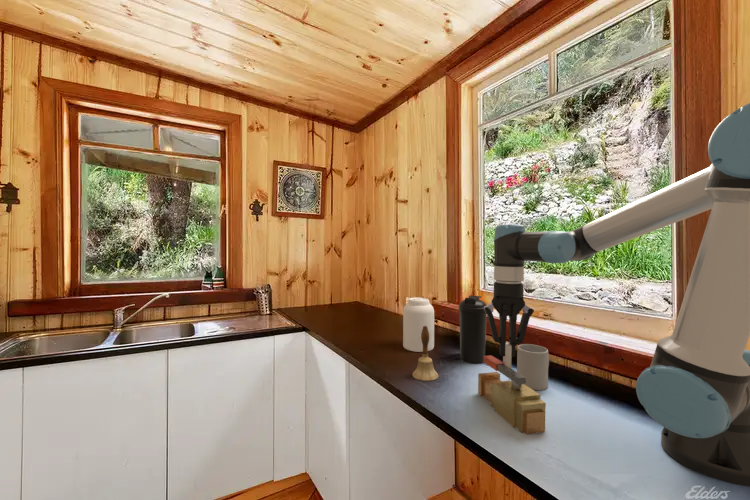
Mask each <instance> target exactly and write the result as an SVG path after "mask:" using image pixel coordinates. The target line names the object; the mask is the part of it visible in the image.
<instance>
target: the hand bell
mask: <svg viewBox="0 0 750 500" xmlns="http://www.w3.org/2000/svg"><path fill="white" fill-rule="evenodd" d="M421 340H422V344H423V352H422V356H421V357H419V358H418V359H417V366H416V369H415V370H414V371H413V372H412V375H411V376H412V377H413V379H416V380H418V381H422V382H431V381H435V380H438V378H439V373H438V372H437V371H436V370H435V368H434V363H433V359H432V358H431V357H429V351H428V343H429V331H428V328H427V326H423V329H422V333H421Z"/></svg>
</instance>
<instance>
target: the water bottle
mask: <svg viewBox="0 0 750 500" xmlns="http://www.w3.org/2000/svg"><path fill="white" fill-rule="evenodd" d="M480 298H482V296H480V295H468V297H465V298H464V299H463V300H461V302H460V303H459V304H458V312H459V343H460V344H459V345H460V346H459V349H460V350H459V351H460V352H459V354H460V360H461V362H463V363H466V364H474V365H478V364H480V365H481V364H485V363H484V356H486V341H487V340H486V339H487V320H488V317H487V313H486V312H485V310H484V309H483V307H484V306H487V303H486V302H485V301H484V300H483V299H482V300H481V299H480Z"/></svg>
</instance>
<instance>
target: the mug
mask: <svg viewBox="0 0 750 500" xmlns="http://www.w3.org/2000/svg"><path fill="white" fill-rule="evenodd" d="M516 351H517V352H516V353H517V354H516V355H517V356H516V362H517V363H516V372H517V373H519V374H521V375H522V376H524V377H526V384H525V385H526V386H528V387H529V388H531V389H532V390H534V391H545V390H547V389H548V387H549V366H550V356H549V355H550V354H549V350H548V348H546V347H544V346H541V345H537V344H531V343H520V344H519V345H517V350H516Z"/></svg>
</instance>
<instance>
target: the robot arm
mask: <svg viewBox="0 0 750 500" xmlns="http://www.w3.org/2000/svg"><path fill="white" fill-rule="evenodd" d="M707 152H708V153H707V154H708V158H709V161H710V163H711V164H710V165H709V166H708V167H706V168H704V169H702V170H700V171H697V172H696V173H694V174H691V175H689V176H687V177H685V178H683V179H681V180H678V181H676V182H673V183H672V184H670V185H668V186H665V187H663V188H660V189H659V190H657V191H655V192H653V193H651V194H647V195H645V196H643V197H641V198H640V199H637V200H635V201H633V202H631V203H629V204H626V205H624V206H622V207H620V208H617V209H616V210H613V211H612V212H609V213H608V214H606V215H603V216H601V217H599V218H596V219H594V220H592V221H590V222H587V223H585V224H584V225H582V226H579V227H577V228H575V229H573V230H571V231H560V230H548V231H547V230H546V231H526V229H525V225H523V224H517V223H516V224H515V223H514V224H499V225H497V226H496V227H495V229H494V239H493V248H494V249H493V251H494V253H493V254H494V263H493V264H494V265H493V267H494V269H493V280H495V281H494V282H493V297H492V300H491V303H489V304H488V305H487V304H486V305H487V306H484V307H483V309H484V310H485V312H486V313H487V320H488V325H489V330H490V332H491V337H492V340H493V341H494V343H498V344H499V351H498V352H499V355H500V356H501V357H502V362H503V363H505V365H506V366H508V367H509V368H511V369H512V357H515V356H516V346H518V345H517V344H524V339H525V336H526V333H527V328H528V325H529V321H530V318H531V317H532V315H533V314H534V312H535V310H534V309H533V308H532V307H531V306H528V305H526V302H525V300H524V291H525V290H524V285H525V284H524V283H523V282H524V281H525V279H524V278H525V262H538V263H549V264H565V263H569V262H579V261H580V262H581V261H584V260H588V259H590V258H592V257H593V256H595V254H597V253H599V252H601V251H604V250H606V249H610V248H612V247H615V246H617V245H620V244H623V243H625V242H627V241H628V242H629V241H631V240H633V239H636V238H639V237H641V236H644V235H646V234H650V233H651V232H654V231H657V230H660V229H662V228H665V227H667V226H668V227H669V226H670V225H673V224H675V223H678V222H681V221H683V220H686V219H688V218H691V217H694V216H698V215H700V214H702V213H704V212H708V211H709V210H710V213H709V217H708V220H707V223H706V225H705V229H704V233H703V236H702V239H701V241H700V246H699V248H698V251H697V255H696V258H695V261H694V265H693V267H692V270H691V274H690V277H689V280H688V283H687V286H686V290H685V293H684V295H683V300H682V302H681V306H680V309H679V312H678V314H677V318H676V321H675V325H674V328H673V331H672V333H671V335H669V336H666V337H662V338H659V340H658V341H657V344H656V348H655V350H654V353H653V356H652V360H651V363H650V365H649V367H646V368H644V369H643V370H642V371H641V373H640V374H639V376H638V377H637V380H636V384H635V391H636V395H637V399H638V401H639V403H640V404H641V406H643V409H644V410H645V413H647V414H648V415H649V416H650V417H651V418H652V419H653V420H654V421H655V422H656V423H658V424H659V425H660V426H662V427H663V428H662V430H661V436H660V444H661V448H662V449H663V451H665V453H667V454H668V455H669V457H671V458H673V459H674V460H675V461H677V462H678V463H680V464H681V465H683V466H685V467H687V468H688V469H690V470H693V471H695V472H697V473H699V474H702V475H705V476H707V477H709V478H712V479H715V480H717V481H721V482H725V483H729V484H732V485H733V484H734V485H737V486H741V487H742V486H743V487H750V350H749V349H746V347H747V345H748V341H749V339H750V102H749V103H747V104H745V105H743V106H741V107H739V108H738V109H736V110H734V111H733V112H731V113H729V114H728V115H726V117H724V118H723V119H722V120H721V122H719V123H718V124H717V126H716V127H715V128H714V130H713V131H712V133H711V136H710V137H709V141H708V145H707ZM494 309H495V311H496V312H497V313H498V317H499V327H498V329H499V330H497V325H496V322H495V317H494V314H493V313H494ZM521 311H522V315H521V318H520V321H519V325H518V329H517V320H518V315H519V314H520V312H521ZM507 320H509V321H508V342H507ZM498 333H499V334H498Z"/></svg>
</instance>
